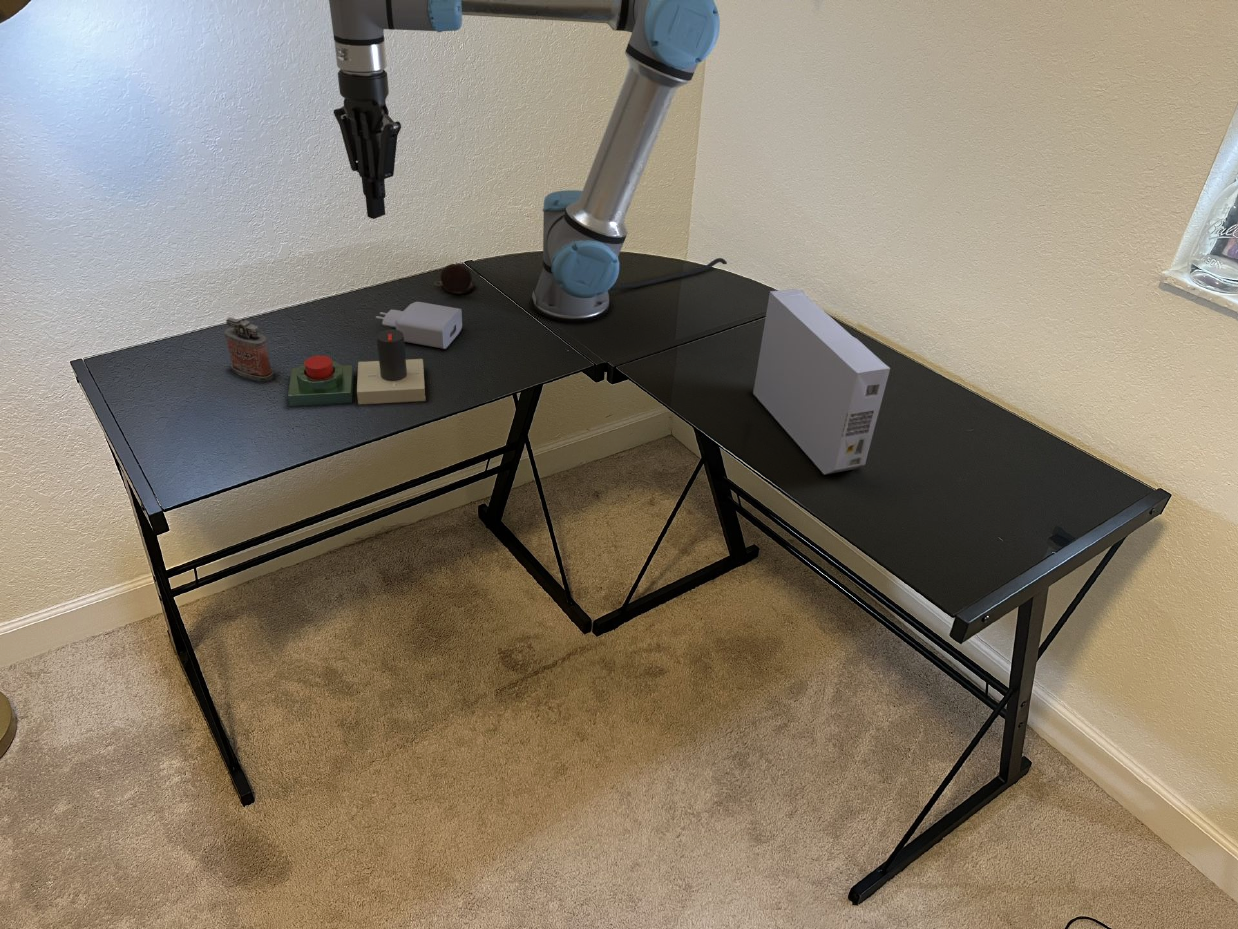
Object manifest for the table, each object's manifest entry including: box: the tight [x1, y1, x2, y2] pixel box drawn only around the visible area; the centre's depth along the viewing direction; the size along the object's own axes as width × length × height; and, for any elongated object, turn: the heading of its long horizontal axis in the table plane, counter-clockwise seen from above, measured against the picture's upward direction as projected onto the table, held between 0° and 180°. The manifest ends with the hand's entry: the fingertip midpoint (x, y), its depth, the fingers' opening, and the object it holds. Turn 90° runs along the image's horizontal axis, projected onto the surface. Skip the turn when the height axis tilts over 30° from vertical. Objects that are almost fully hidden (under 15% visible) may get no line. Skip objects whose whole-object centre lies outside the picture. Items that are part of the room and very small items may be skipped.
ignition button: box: [304, 355, 333, 379], centre depth 157 cm, size 4×4×2 cm
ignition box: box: [287, 360, 355, 408], centre depth 159 cm, size 10×9×4 cm
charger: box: [375, 301, 463, 350], centre depth 177 cm, size 5×9×15 cm
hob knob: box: [375, 328, 407, 381], centre depth 159 cm, size 4×4×8 cm
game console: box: [752, 288, 891, 475], centre depth 152 cm, size 6×27×20 cm, turn 20°
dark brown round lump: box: [434, 261, 475, 295], centre depth 192 cm, size 8×8×7 cm
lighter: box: [223, 316, 274, 382], centre depth 160 cm, size 8×3×10 cm, turn 65°
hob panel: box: [356, 358, 426, 405], centre depth 162 cm, size 11×10×3 cm
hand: (376, 215), depth 160 cm, fingers closed
